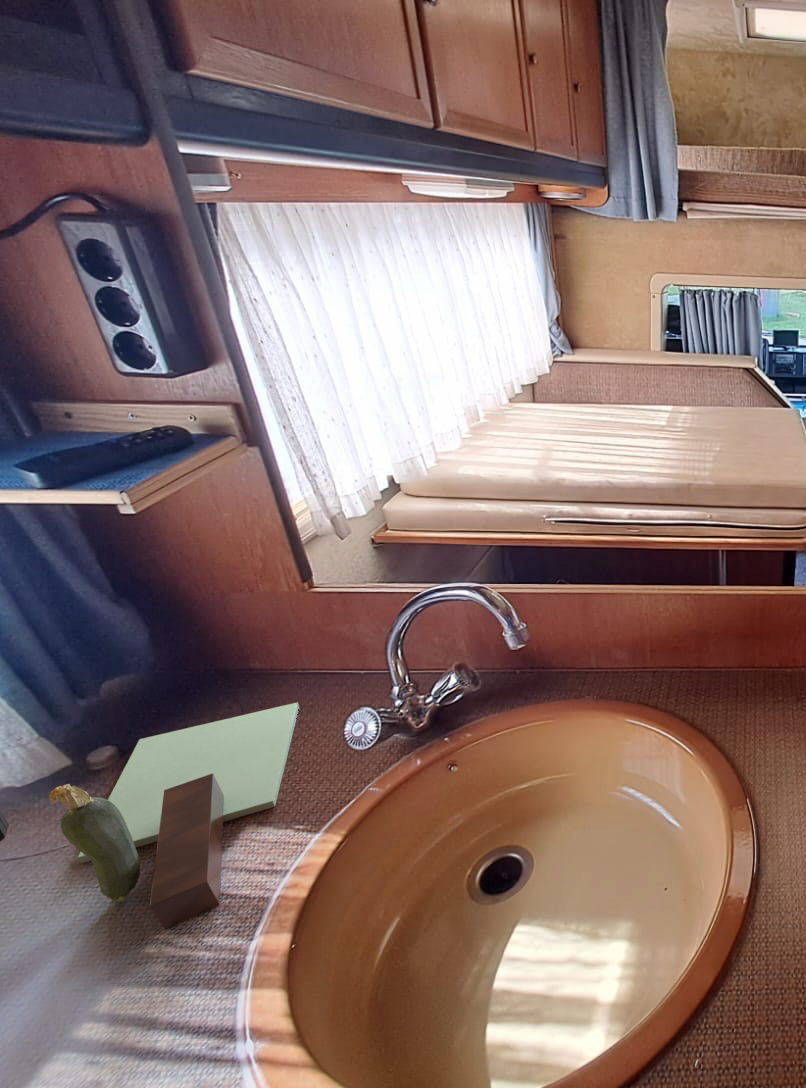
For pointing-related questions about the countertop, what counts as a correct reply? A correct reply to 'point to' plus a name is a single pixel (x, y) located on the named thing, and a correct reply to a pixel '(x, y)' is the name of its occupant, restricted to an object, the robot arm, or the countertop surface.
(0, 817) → the robot arm
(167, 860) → the walnut block
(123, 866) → the vegetable
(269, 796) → the cutting board
